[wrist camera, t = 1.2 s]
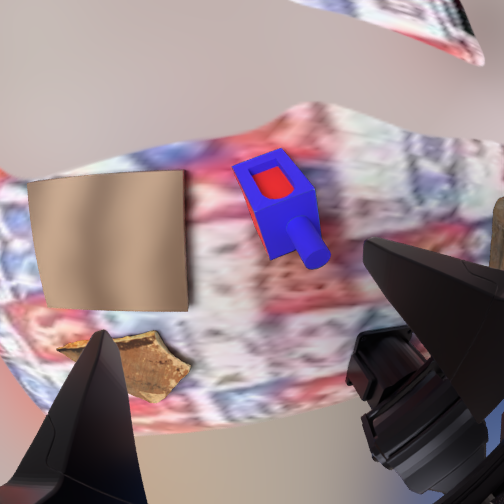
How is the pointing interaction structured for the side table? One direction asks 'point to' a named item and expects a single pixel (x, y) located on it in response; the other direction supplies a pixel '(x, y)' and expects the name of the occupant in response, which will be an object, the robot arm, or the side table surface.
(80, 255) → the tan curved panel
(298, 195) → the blue and red scoop
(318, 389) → the side table surface
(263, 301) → the side table surface
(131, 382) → the shard
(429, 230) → the side table surface
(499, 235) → the brown carved statuette
